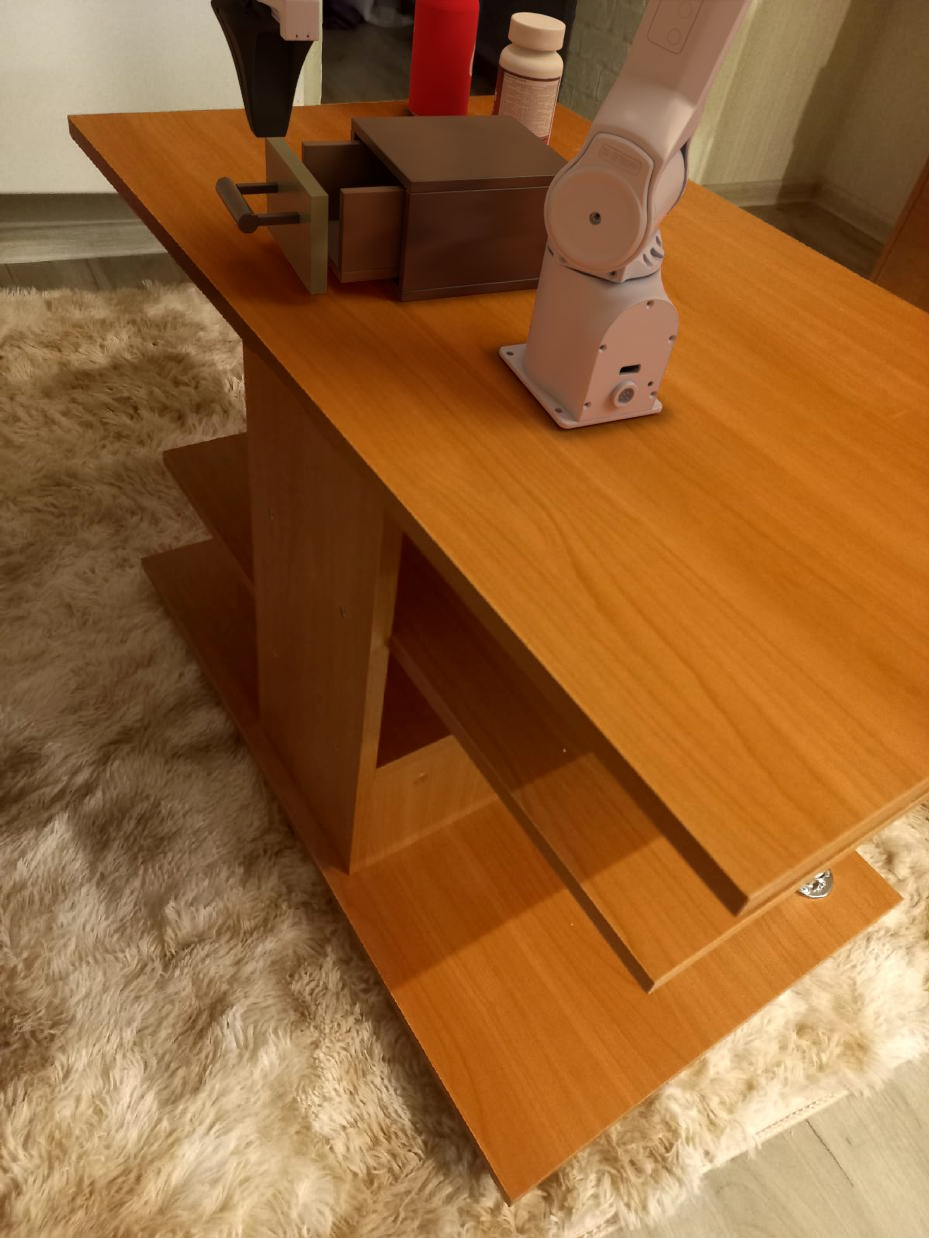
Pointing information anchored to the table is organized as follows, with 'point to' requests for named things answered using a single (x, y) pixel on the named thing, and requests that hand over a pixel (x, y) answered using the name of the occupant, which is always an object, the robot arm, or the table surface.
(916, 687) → the table surface
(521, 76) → the pill bottle
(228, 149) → the table surface
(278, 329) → the table surface
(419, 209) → the cabinet
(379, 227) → the drawer
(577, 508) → the table surface
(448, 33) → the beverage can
